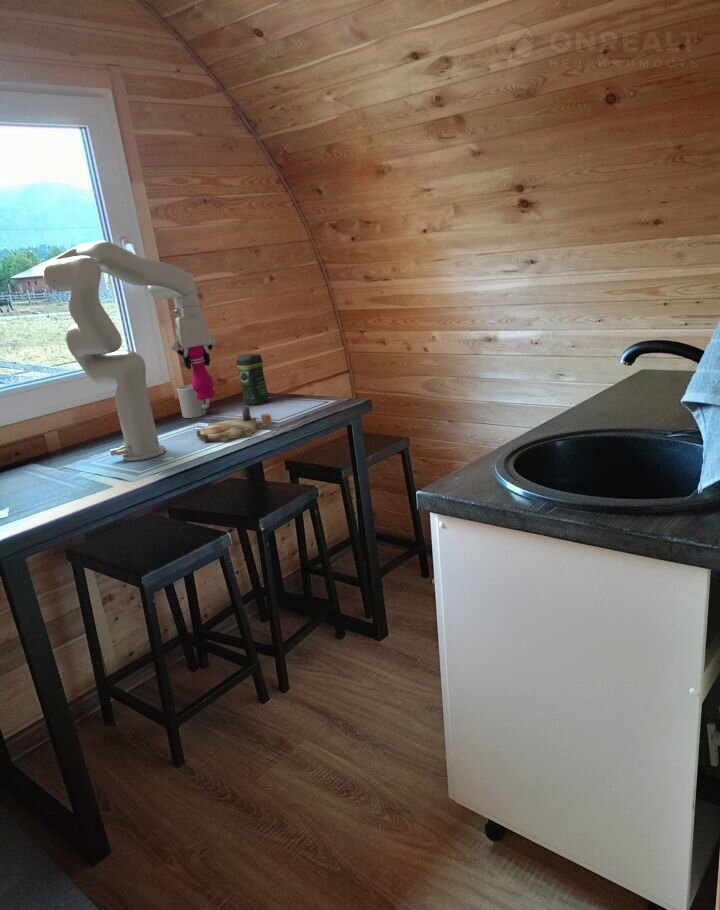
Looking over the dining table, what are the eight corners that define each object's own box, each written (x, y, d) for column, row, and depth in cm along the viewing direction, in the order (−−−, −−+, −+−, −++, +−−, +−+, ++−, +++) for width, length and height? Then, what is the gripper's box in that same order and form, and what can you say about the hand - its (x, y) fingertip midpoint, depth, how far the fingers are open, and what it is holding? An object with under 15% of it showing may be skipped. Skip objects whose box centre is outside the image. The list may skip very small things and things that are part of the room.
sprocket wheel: (222, 444, 213) (218, 425, 212) (185, 438, 227) (181, 420, 226) (274, 426, 227) (271, 407, 225) (236, 421, 241) (233, 403, 239)
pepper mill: (212, 398, 238) (197, 339, 232) (192, 401, 239) (177, 342, 233) (219, 393, 244) (205, 335, 238) (200, 396, 246) (185, 338, 240)
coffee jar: (273, 401, 268) (264, 351, 262) (257, 406, 262) (248, 356, 257) (256, 399, 274) (247, 351, 269) (240, 405, 269) (231, 356, 263)
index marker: (266, 425, 232) (264, 416, 231) (262, 423, 234) (260, 415, 233) (271, 423, 233) (270, 414, 232) (268, 422, 235) (266, 413, 234)
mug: (178, 419, 259) (171, 389, 256) (192, 413, 267) (186, 384, 263) (204, 418, 254) (198, 388, 251) (218, 412, 261) (213, 383, 258)
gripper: (165, 315, 226) (176, 372, 231) (217, 308, 234) (226, 363, 239) (158, 315, 232) (169, 371, 237) (209, 308, 241) (218, 361, 245)
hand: (197, 366), depth 238 cm, fingers closed on pepper mill, 5 cm apart
